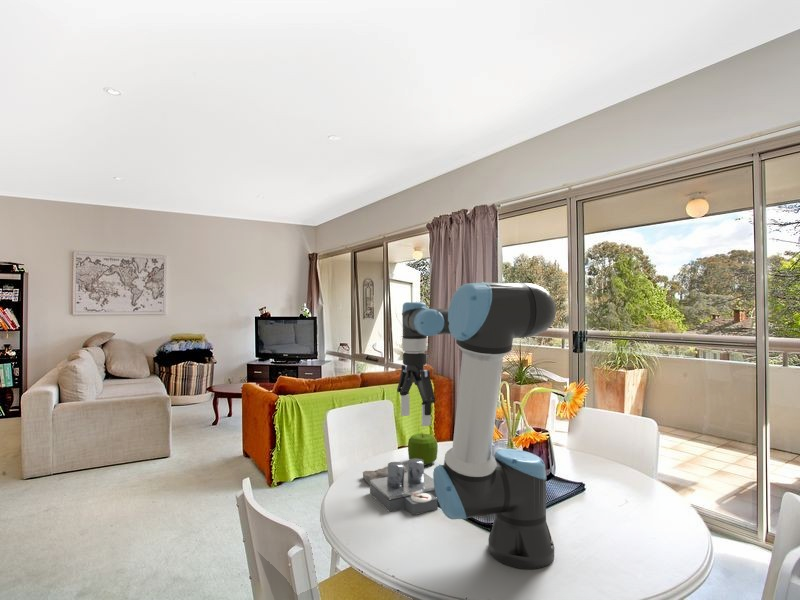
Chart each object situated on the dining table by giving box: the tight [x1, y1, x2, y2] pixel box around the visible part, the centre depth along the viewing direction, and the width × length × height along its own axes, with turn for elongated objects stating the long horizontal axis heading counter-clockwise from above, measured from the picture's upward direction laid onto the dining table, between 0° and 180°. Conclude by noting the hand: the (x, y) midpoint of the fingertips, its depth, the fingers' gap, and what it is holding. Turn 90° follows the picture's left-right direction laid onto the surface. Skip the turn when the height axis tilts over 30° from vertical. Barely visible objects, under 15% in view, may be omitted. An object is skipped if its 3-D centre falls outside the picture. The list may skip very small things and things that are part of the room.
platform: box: [370, 472, 435, 500], centre depth 140 cm, size 14×18×1 cm
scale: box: [369, 484, 439, 516], centre depth 137 cm, size 20×18×4 cm
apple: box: [407, 432, 439, 466], centre depth 169 cm, size 11×11×11 cm
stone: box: [362, 465, 408, 486], centre depth 153 cm, size 15×10×4 cm, turn 120°
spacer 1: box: [387, 461, 405, 488], centre depth 138 cm, size 5×5×6 cm
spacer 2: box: [407, 458, 425, 484], centre depth 141 cm, size 5×5×6 cm
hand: (415, 420), depth 141 cm, fingers open, 13 cm apart
